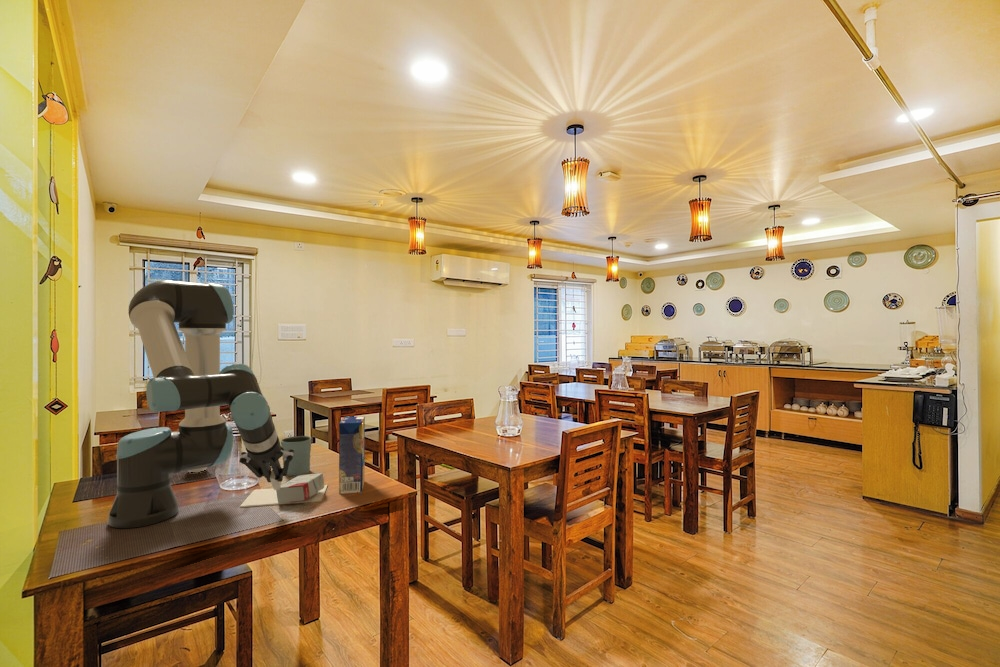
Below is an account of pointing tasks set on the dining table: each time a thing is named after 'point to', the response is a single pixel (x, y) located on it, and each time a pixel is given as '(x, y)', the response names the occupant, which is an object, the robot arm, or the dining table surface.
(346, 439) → the beverage box
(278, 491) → the ink box
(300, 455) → the green tapered cup
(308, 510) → the dining table surface
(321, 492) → the mat
